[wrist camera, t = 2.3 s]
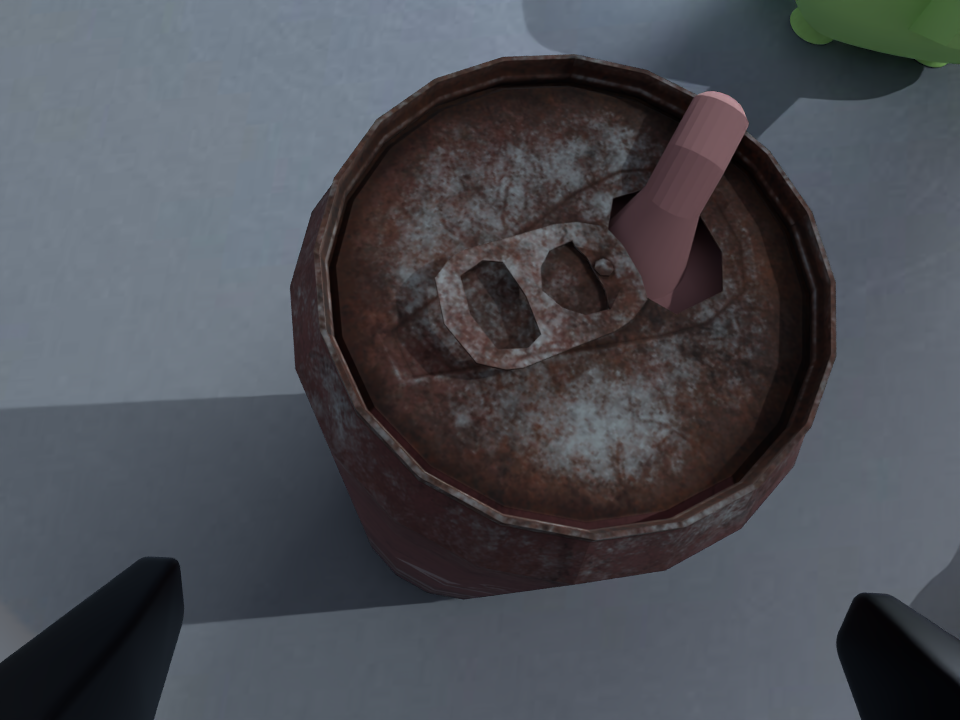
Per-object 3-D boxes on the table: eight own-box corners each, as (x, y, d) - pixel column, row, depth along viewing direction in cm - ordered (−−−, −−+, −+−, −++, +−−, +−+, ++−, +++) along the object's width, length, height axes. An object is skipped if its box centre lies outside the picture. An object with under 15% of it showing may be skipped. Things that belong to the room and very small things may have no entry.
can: (605, 440, 21) (948, 164, 8) (507, 641, 19) (756, 715, 6) (430, 343, 22) (480, -72, 8) (315, 528, 19) (138, 358, 6)
